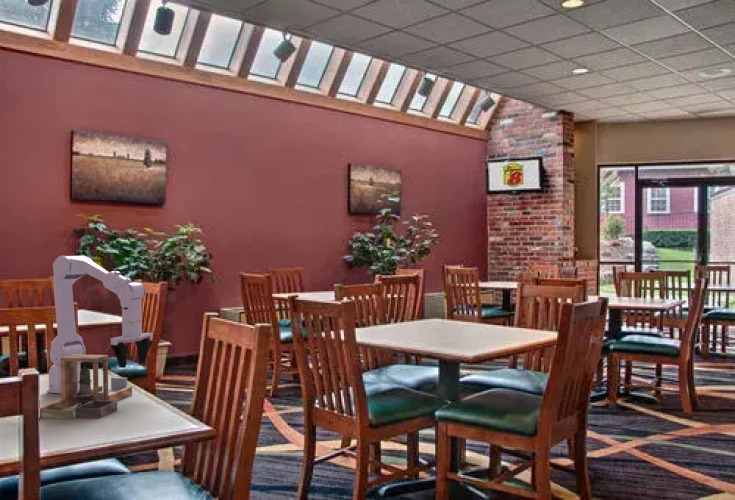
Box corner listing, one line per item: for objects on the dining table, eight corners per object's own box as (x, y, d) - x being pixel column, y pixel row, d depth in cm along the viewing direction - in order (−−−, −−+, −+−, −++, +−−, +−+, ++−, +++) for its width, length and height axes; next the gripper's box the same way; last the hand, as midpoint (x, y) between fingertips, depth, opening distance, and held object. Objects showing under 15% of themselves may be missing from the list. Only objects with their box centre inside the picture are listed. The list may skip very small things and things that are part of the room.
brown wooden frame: (98, 393, 209) (98, 347, 209) (151, 395, 206) (150, 348, 206) (35, 417, 179) (34, 364, 179) (95, 420, 176) (94, 365, 176)
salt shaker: (100, 404, 195) (99, 363, 195) (89, 409, 189) (89, 367, 189) (81, 404, 195) (80, 363, 195) (70, 408, 189) (69, 367, 189)
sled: (111, 391, 211) (111, 377, 211) (128, 392, 210) (128, 377, 210) (84, 402, 196) (84, 386, 196) (102, 402, 195) (102, 387, 195)
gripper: (122, 324, 195) (122, 370, 195) (159, 319, 208) (159, 362, 208) (105, 323, 198) (106, 368, 198) (143, 318, 211) (143, 360, 211)
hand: (132, 365), depth 203 cm, fingers open, 7 cm apart
